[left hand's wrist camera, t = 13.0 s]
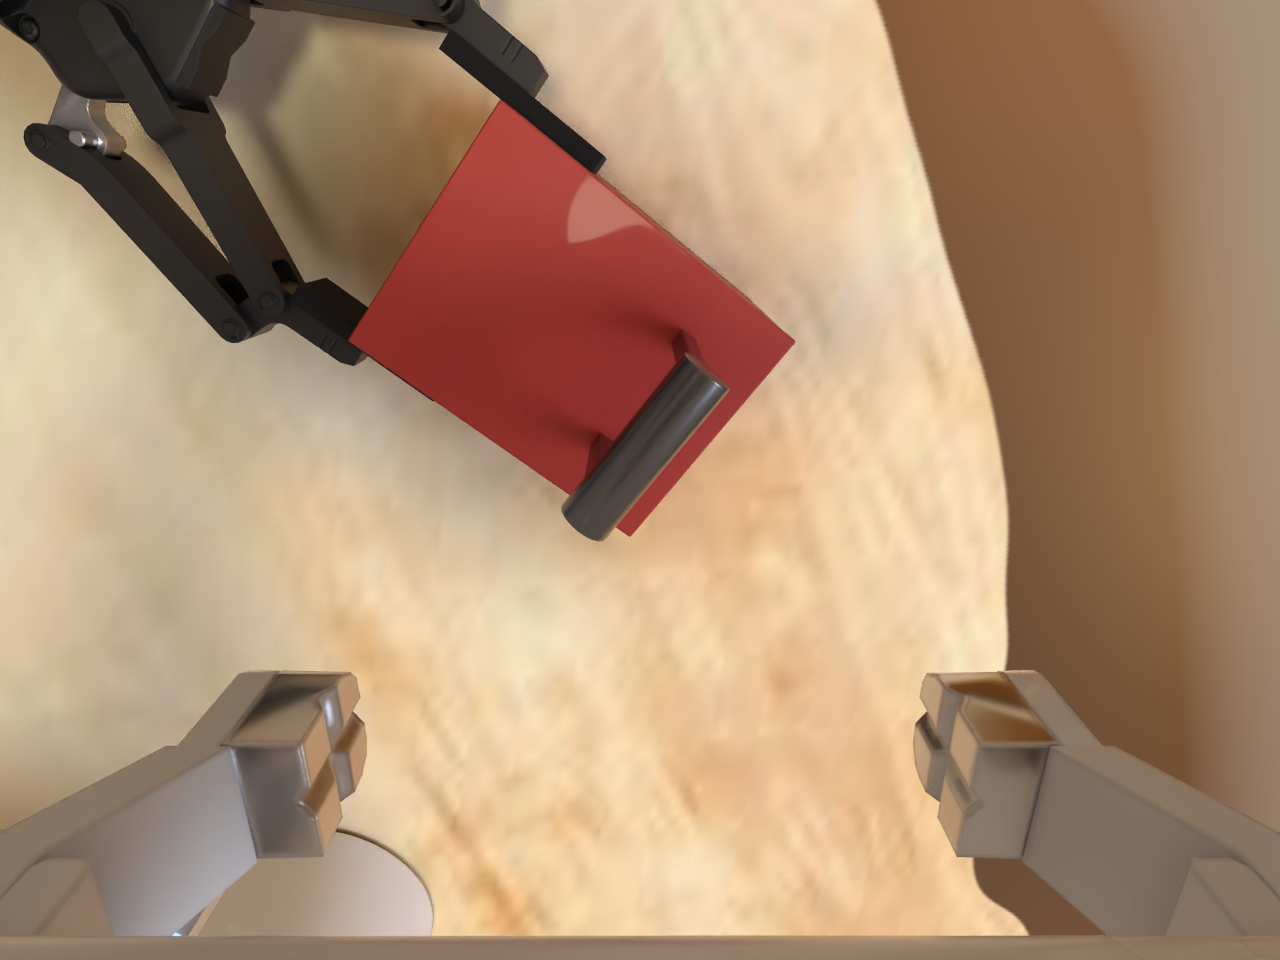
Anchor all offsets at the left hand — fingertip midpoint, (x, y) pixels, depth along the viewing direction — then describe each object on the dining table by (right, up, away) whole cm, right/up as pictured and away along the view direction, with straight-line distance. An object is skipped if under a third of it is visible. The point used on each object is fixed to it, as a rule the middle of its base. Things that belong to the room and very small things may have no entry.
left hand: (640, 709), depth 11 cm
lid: (-3, +9, +17) cm, 20 cm away
